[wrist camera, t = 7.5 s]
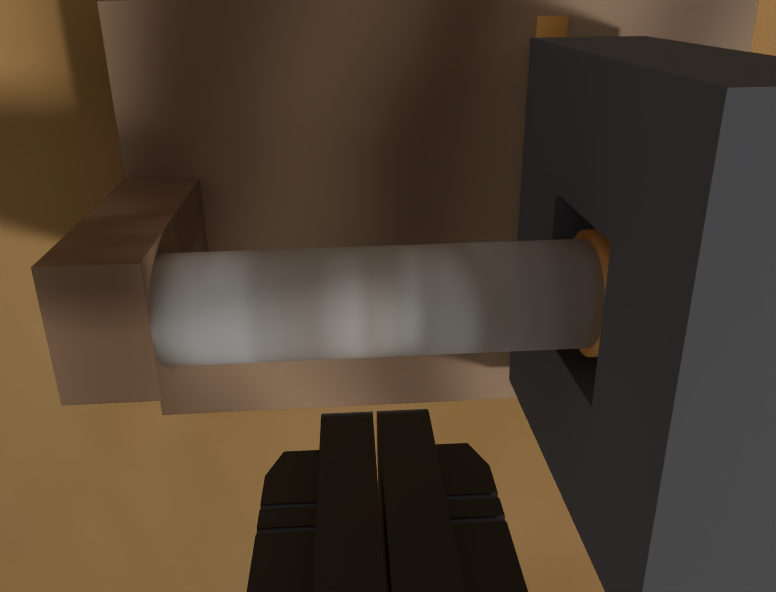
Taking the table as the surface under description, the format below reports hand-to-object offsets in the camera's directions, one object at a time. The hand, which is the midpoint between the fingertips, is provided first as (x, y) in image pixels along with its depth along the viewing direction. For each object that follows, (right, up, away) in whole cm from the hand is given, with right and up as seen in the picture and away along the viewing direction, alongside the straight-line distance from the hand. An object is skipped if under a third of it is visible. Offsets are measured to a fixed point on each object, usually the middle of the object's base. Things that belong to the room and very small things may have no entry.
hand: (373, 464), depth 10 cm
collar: (+5, +5, +10) cm, 12 cm away
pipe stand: (+1, +5, +12) cm, 13 cm away
